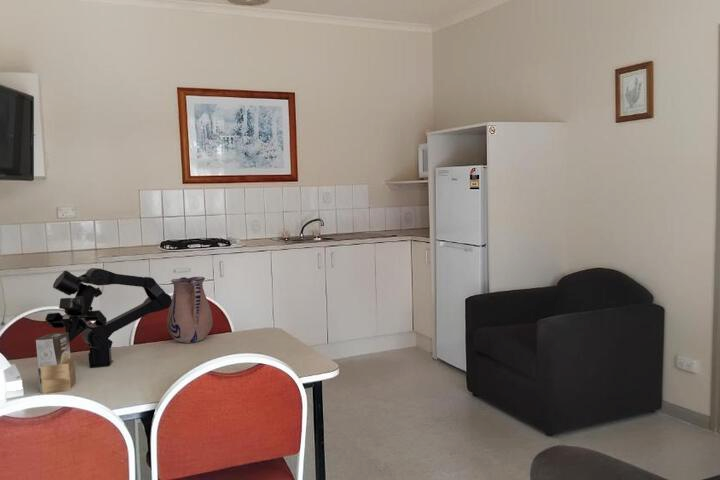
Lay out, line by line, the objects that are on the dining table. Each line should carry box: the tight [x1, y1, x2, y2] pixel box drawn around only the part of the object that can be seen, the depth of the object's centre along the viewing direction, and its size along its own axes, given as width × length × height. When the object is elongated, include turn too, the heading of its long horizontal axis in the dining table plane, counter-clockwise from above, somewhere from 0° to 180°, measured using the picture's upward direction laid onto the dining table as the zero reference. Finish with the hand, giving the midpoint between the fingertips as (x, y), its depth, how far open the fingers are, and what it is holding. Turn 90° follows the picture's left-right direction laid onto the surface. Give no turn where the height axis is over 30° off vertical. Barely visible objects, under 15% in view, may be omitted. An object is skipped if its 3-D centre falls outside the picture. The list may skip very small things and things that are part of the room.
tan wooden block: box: [40, 357, 77, 394], centre depth 188 cm, size 8×9×8 cm
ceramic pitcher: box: [166, 276, 214, 344], centre depth 244 cm, size 18×21×25 cm
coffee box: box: [35, 331, 71, 393], centre depth 189 cm, size 9×6×16 cm
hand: (67, 341), depth 199 cm, fingers closed
